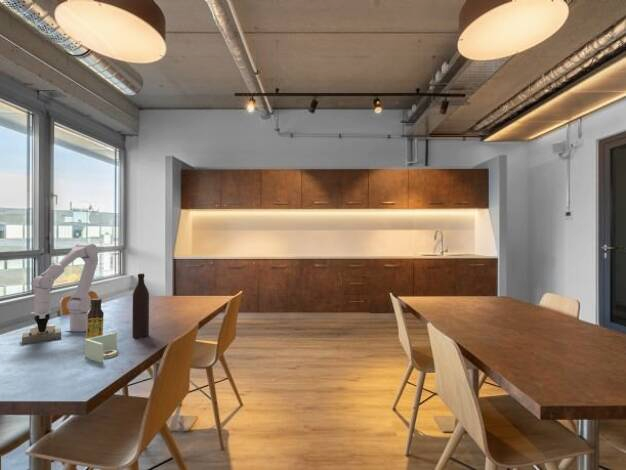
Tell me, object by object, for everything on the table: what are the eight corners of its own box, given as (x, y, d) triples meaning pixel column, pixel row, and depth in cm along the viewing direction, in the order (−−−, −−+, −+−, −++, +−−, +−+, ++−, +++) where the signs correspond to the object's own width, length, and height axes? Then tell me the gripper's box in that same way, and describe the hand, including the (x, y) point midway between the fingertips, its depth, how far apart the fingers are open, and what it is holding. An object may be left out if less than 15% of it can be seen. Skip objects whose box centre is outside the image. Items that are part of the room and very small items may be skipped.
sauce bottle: (85, 346, 148) (85, 300, 148) (86, 342, 153) (87, 298, 153) (102, 344, 151) (103, 299, 151) (103, 340, 156) (104, 297, 156)
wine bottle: (151, 336, 163) (151, 273, 164) (135, 339, 158) (136, 274, 158) (145, 333, 168) (145, 272, 168) (130, 336, 163) (130, 273, 163)
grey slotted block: (60, 334, 165) (60, 328, 165) (61, 338, 159) (61, 332, 159) (22, 339, 156) (22, 333, 156) (21, 344, 150) (21, 337, 150)
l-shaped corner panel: (100, 364, 129) (100, 344, 129) (84, 358, 135) (84, 339, 135) (131, 354, 139) (131, 336, 139) (115, 349, 146) (115, 332, 146)
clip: (54, 333, 162) (54, 324, 162) (54, 335, 159) (55, 325, 160) (30, 337, 156) (30, 327, 156) (29, 338, 154) (30, 328, 154)
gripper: (31, 300, 161) (31, 329, 161) (30, 305, 150) (30, 336, 150) (50, 298, 165) (50, 326, 165) (51, 303, 154) (50, 333, 154)
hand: (42, 331), depth 158 cm, fingers closed on clip, 3 cm apart
